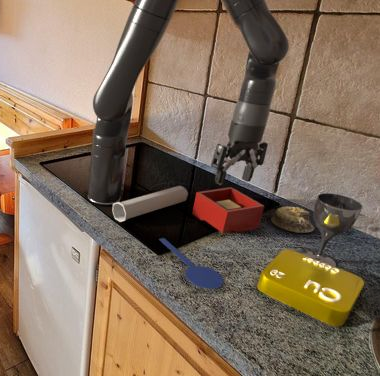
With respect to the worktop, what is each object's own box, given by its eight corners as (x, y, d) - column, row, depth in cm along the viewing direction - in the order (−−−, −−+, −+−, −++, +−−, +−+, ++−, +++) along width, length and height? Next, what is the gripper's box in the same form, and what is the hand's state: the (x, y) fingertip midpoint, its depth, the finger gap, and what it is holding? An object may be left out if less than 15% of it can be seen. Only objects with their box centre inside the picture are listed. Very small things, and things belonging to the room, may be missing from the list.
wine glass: (303, 246, 97) (323, 190, 91) (342, 260, 92) (366, 202, 86) (292, 259, 92) (313, 200, 86) (333, 275, 87) (357, 214, 81)
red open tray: (192, 213, 110) (196, 192, 108) (226, 208, 114) (231, 187, 111) (221, 235, 101) (227, 212, 98) (258, 228, 104) (264, 205, 101)
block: (212, 216, 108) (215, 201, 106) (225, 214, 110) (229, 199, 108) (224, 224, 105) (227, 209, 103) (237, 221, 106) (241, 206, 104)
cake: (269, 230, 105) (273, 211, 103) (271, 214, 113) (274, 196, 111) (315, 237, 100) (319, 218, 98) (313, 221, 108) (317, 202, 106)
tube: (176, 183, 119) (111, 201, 107) (191, 184, 115) (124, 203, 102) (177, 200, 120) (113, 220, 108) (192, 202, 115) (126, 223, 103)
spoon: (147, 243, 96) (147, 240, 96) (174, 238, 99) (174, 235, 98) (200, 295, 80) (201, 291, 80) (231, 287, 82) (231, 284, 82)
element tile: (359, 295, 81) (368, 276, 79) (338, 333, 72) (348, 312, 70) (279, 262, 91) (285, 244, 89) (252, 291, 81) (258, 272, 79)
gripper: (260, 114, 101) (243, 173, 108) (213, 117, 97) (199, 179, 104) (285, 123, 95) (265, 185, 102) (236, 126, 90) (220, 191, 97)
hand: (232, 182), depth 103 cm, fingers open, 8 cm apart
